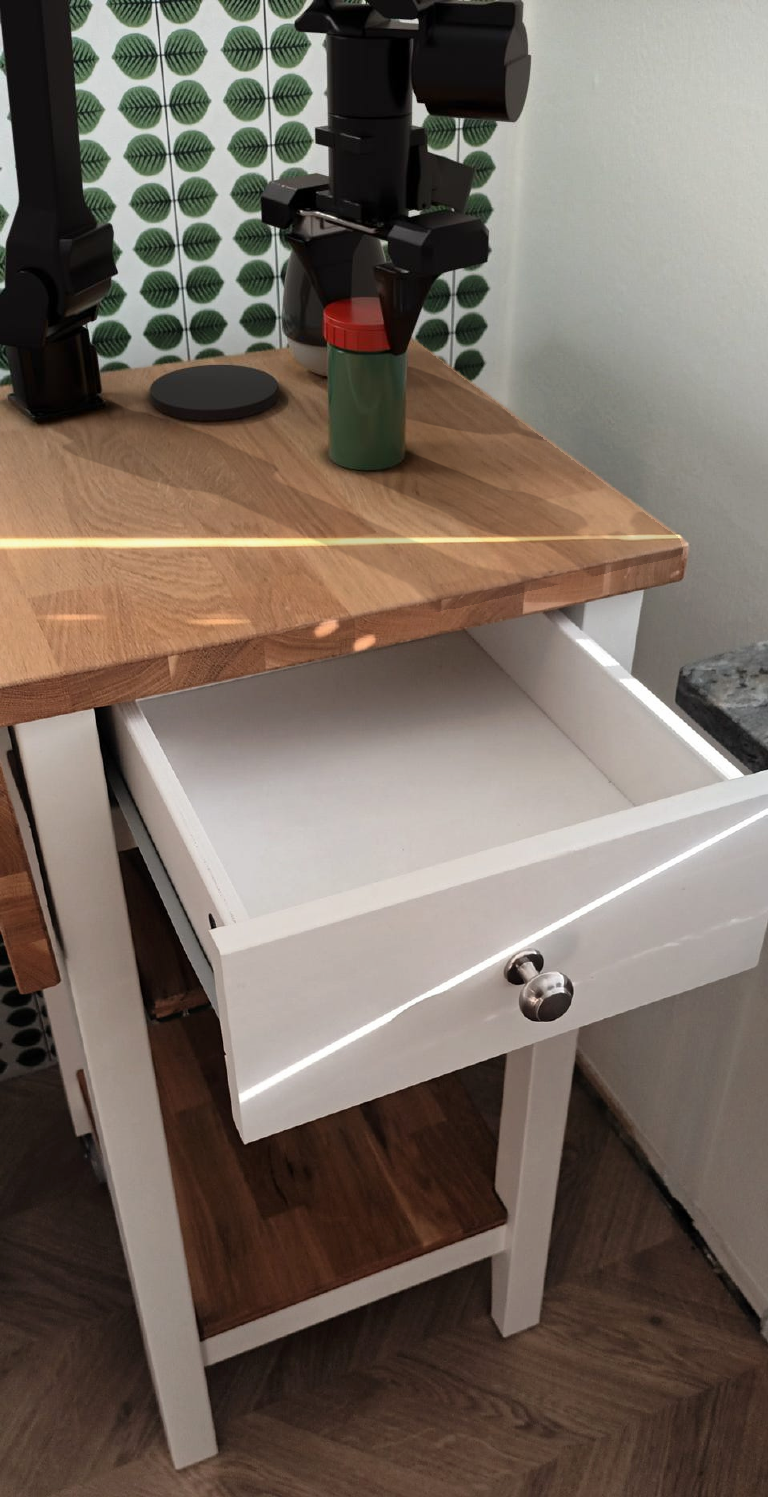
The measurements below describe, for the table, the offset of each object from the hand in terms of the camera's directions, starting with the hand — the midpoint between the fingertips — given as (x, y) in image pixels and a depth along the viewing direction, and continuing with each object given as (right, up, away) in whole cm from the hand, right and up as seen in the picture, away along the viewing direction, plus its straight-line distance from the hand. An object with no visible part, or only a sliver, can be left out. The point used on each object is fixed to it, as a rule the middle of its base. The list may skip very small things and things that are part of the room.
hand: (369, 343), depth 93 cm
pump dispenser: (-3, +4, +21) cm, 22 cm away
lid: (0, +2, -1) cm, 2 cm away
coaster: (-14, 0, +15) cm, 20 cm away
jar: (0, -7, +5) cm, 9 cm away
